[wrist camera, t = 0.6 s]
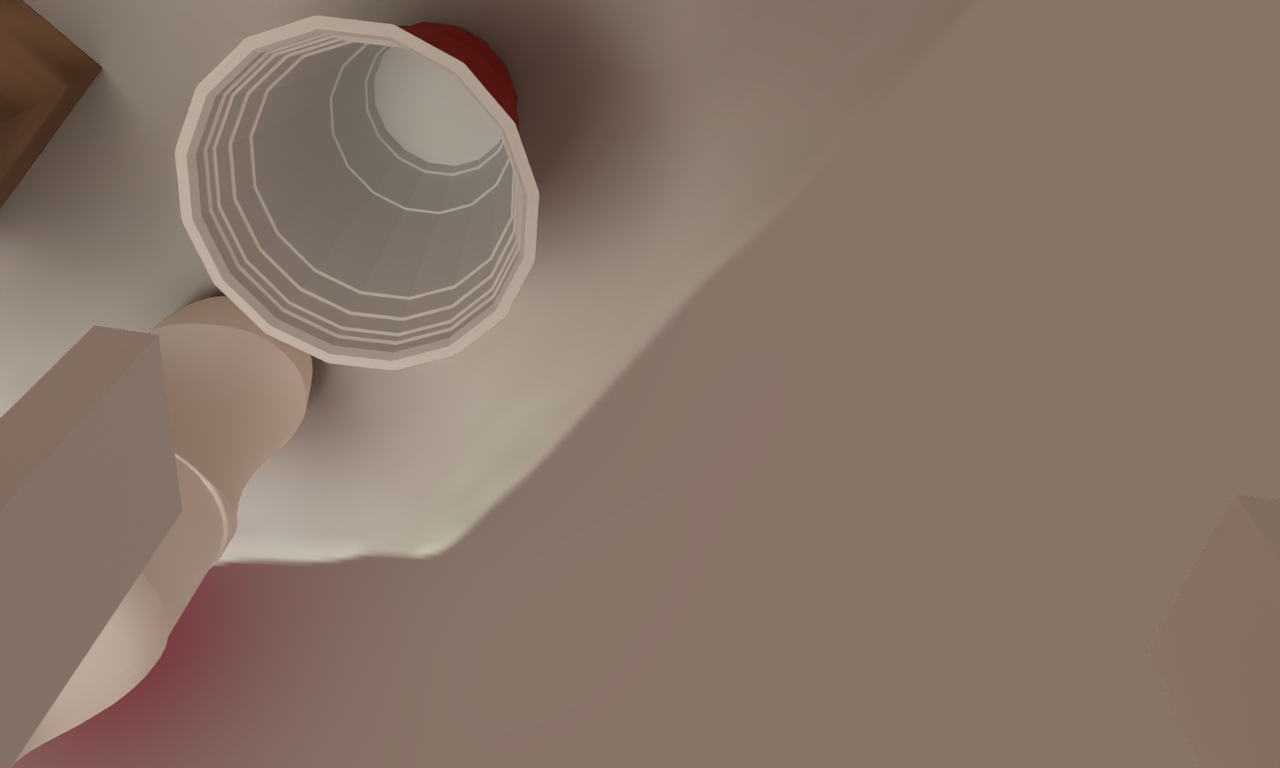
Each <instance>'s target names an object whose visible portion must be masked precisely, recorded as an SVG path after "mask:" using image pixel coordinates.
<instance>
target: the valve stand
mask: <svg viewBox="0 0 1280 768" xmlns="http://www.w3.org/2000/svg"><path fill="white" fill-rule="evenodd" d="M101 69H102V68H101V67H100V66H99V65H98V64H97V63H95V62H94V61H93V60H92V59H91V58H89V57H88V56H87V55H86V54H85V53H84V52H82V51H81V50H80V49H79V48H78V47H76V46H75V45H74V44H73V43H72V42H70V41H69V40H68V39H67V38H66V37H64V36H63V35H62V34H61V33H60V32H58V31H57V30H56V29H55V28H54V27H52V26H51V25H50V24H49V23H48V22H47V21H45V20H44V19H43V18H42V17H41V16H39V15H38V14H37V13H36V12H35V11H33V10H32V9H31V8H30V7H29V6H27V5H26V4H25V3H24V2H23V1H21V0H0V208H1V206H2V205H3V204H4V202H5V201H6V200H7V198H8V197H9V195H10V194H11V193H12V191H13V190H14V189H15V187H16V186H17V184H18V183H19V182H20V180H21V179H22V178H23V176H24V175H25V173H26V172H27V171H28V169H29V168H30V166H31V165H32V164H33V162H34V161H35V160H36V158H37V157H38V155H39V154H40V153H41V151H42V150H43V149H44V147H45V146H46V144H47V143H48V142H49V140H50V139H51V138H52V136H53V135H54V133H55V132H56V131H57V129H58V128H59V127H60V125H61V124H62V122H63V121H64V120H65V118H66V117H67V116H68V114H69V113H70V111H71V110H72V109H73V107H74V106H75V104H76V103H77V102H78V100H79V99H80V98H81V96H82V95H83V93H84V92H85V91H86V89H87V88H88V87H89V85H90V84H91V82H92V81H93V80H94V78H95V77H96V76H97V74H98V73H99V71H100V70H101Z"/></svg>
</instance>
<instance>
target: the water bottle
mask: <svg viewBox="0 0 1280 768" xmlns="http://www.w3.org/2000/svg"><path fill="white" fill-rule="evenodd" d="M149 334H155V335H158V336H159V344H160V351H161V358H162V366H163V373H164V380H165V388H166V395H167V402H168V410H169V417H170V424H171V432H172V439H173V446H174V454H175V461H176V468H177V476H178V483H179V490H180V498H181V505H182V512H181V514H180V515H179V517H178V518H177V520H176V521H175V523H174V524H173V526H172V527H171V529H170V530H169V532H168V533H167V535H166V536H165V538H164V539H163V541H162V542H161V544H160V545H159V547H158V548H157V550H156V551H155V553H154V554H153V556H152V557H151V559H150V560H149V562H148V563H147V565H146V566H145V568H144V569H143V571H142V572H141V574H140V575H139V577H138V578H137V580H136V581H135V583H134V584H133V586H132V587H131V589H130V590H129V592H128V593H127V595H126V596H125V598H124V599H123V601H122V602H121V604H120V605H119V607H118V608H117V610H116V611H115V613H114V614H113V616H112V617H111V619H110V620H109V622H108V623H107V625H106V626H105V628H104V629H103V631H102V632H101V634H100V635H99V637H98V638H97V639H96V641H95V642H94V644H93V645H92V647H91V648H90V650H89V651H88V653H87V654H86V656H85V657H84V659H83V660H82V662H81V663H80V665H79V666H78V668H77V669H76V671H75V672H74V674H73V675H72V677H71V678H70V680H69V681H68V683H67V684H66V686H65V687H64V689H63V690H62V692H61V693H60V695H59V696H58V698H57V699H56V701H55V702H54V704H53V705H52V707H51V708H50V710H49V711H48V713H47V714H46V716H45V717H44V719H43V720H42V722H41V723H40V725H39V726H38V728H37V729H36V731H35V732H34V734H33V735H32V737H31V738H30V740H29V741H28V743H27V744H26V746H25V747H24V749H23V750H22V752H21V753H20V755H19V756H18V758H17V759H16V761H17V760H19V759H20V758H21V757H23V756H24V755H25V754H27V753H28V752H29V751H31V750H33V749H35V748H36V747H38V746H40V745H42V744H43V743H45V742H47V741H49V740H51V739H53V738H55V737H57V736H58V735H60V734H62V733H64V732H66V731H68V730H70V729H72V728H73V727H76V726H78V725H79V724H81V723H83V722H84V721H86V720H88V719H89V718H91V717H93V716H94V715H96V714H97V713H99V712H101V711H103V710H104V709H106V708H108V707H109V706H111V705H112V704H114V703H115V702H116V701H117V700H119V699H120V698H122V697H123V696H124V695H126V694H127V693H128V692H129V691H130V690H132V689H133V688H134V687H135V686H136V685H137V684H138V683H139V682H140V681H141V680H142V679H143V678H144V677H145V676H146V675H147V674H148V672H149V671H150V670H151V669H152V667H153V666H154V665H155V663H156V662H157V661H158V660H159V658H160V657H161V655H162V652H163V651H164V649H165V647H166V644H167V639H168V636H169V634H170V632H171V631H172V629H173V627H174V626H175V624H176V622H177V621H178V619H179V618H180V616H181V614H182V612H183V611H184V609H185V608H186V606H187V604H188V603H189V601H190V599H191V598H192V596H193V594H194V593H195V591H196V590H197V588H198V586H199V584H200V583H201V581H202V580H203V578H204V576H205V574H206V573H207V571H208V570H209V569H210V568H211V567H212V566H213V565H214V564H215V563H216V562H217V561H218V560H219V558H220V557H221V555H222V554H223V552H224V551H225V549H226V547H227V546H228V544H229V542H230V541H231V539H232V537H233V536H234V533H235V531H236V528H237V509H238V502H239V499H240V496H241V494H242V491H243V489H244V487H245V485H246V484H247V482H248V481H249V479H250V478H251V477H252V475H253V474H254V472H255V471H256V470H257V469H258V468H259V467H260V466H261V465H262V464H263V463H264V462H265V461H266V460H267V459H268V458H270V457H271V456H272V455H273V454H275V453H276V452H277V451H278V450H280V449H281V448H282V447H283V446H284V445H285V444H286V443H287V442H288V441H289V440H290V439H291V438H292V436H293V435H294V434H295V432H296V431H297V429H298V427H299V426H300V424H301V422H302V420H303V418H304V417H305V415H306V410H307V404H308V399H309V394H310V388H311V382H312V374H313V369H312V359H311V355H310V354H308V353H306V352H304V351H301V350H299V349H297V348H295V347H293V346H291V345H289V344H287V343H285V342H283V341H280V340H278V339H276V338H274V337H272V336H270V335H268V334H266V333H264V332H263V331H262V330H261V329H260V328H259V327H258V326H257V325H256V324H255V323H254V322H253V321H252V320H251V319H250V318H249V317H248V316H247V315H246V314H245V313H244V312H243V311H242V310H240V309H239V308H238V307H237V306H236V305H235V304H234V303H233V302H232V301H231V300H230V299H229V298H228V297H227V296H219V297H210V298H206V299H202V300H199V301H196V302H194V303H191V304H189V305H187V306H185V307H183V308H182V309H180V310H178V311H177V312H175V313H173V314H172V315H170V316H169V317H168V318H166V319H165V320H163V321H162V322H161V323H159V324H158V325H157V326H156V327H155V328H154V329H153V330H152V331H151V332H150V333H149ZM16 761H15V762H16ZM15 762H14V763H15Z"/></svg>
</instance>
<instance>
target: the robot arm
mask: <svg viewBox="0 0 1280 768" xmlns="http://www.w3.org/2000/svg"><path fill="white" fill-rule="evenodd" d="M181 512H182V505H181V498H180V490H179V483H178V476H177V468H176V461H175V454H174V446H173V439H172V432H171V424H170V417H169V410H168V402H167V395H166V388H165V380H164V373H163V366H162V358H161V351H160V344H159V336H158V335H155V334H148V333H141V332H134V331H128V330H121V329H114V328H107V327H100V326H93V327H92V328H91V329H90V330H89V331H88V332H87V333H86V334H85V335H84V336H83V337H82V338H81V339H80V340H79V341H78V342H77V343H76V344H75V345H74V346H73V347H72V348H71V349H70V350H69V351H68V352H67V353H66V354H65V355H64V356H63V357H62V358H61V359H60V360H59V361H58V362H57V363H56V364H55V365H54V366H53V367H52V368H51V369H50V370H49V371H48V372H47V373H46V374H45V375H44V376H43V377H42V378H41V379H40V380H39V381H38V382H37V383H36V384H35V385H34V386H33V387H32V388H31V389H30V390H29V391H28V392H27V393H26V394H25V395H24V396H23V397H22V398H21V399H20V400H19V401H18V402H17V403H16V404H15V405H14V406H13V407H12V408H10V409H9V410H8V411H7V412H6V413H5V414H4V415H3V416H2V417H1V418H0V768H11V767H12V765H13V764H14V762H15V761H16V759H17V758H18V756H19V755H20V753H21V752H22V750H23V749H24V747H25V746H26V744H27V743H28V741H29V740H30V738H31V737H32V735H33V734H34V732H35V731H36V729H37V728H38V726H39V725H40V723H41V722H42V720H43V719H44V717H45V716H46V714H47V713H48V711H49V710H50V708H51V707H52V705H53V704H54V702H55V701H56V699H57V698H58V696H59V695H60V693H61V692H62V690H63V689H64V687H65V686H66V684H67V683H68V681H69V680H70V678H71V677H72V675H73V674H74V672H75V671H76V669H77V668H78V666H79V665H80V663H81V662H82V660H83V659H84V657H85V656H86V654H87V653H88V651H89V650H90V648H91V647H92V645H93V644H94V642H95V641H96V639H97V638H98V637H99V635H100V634H101V632H102V631H103V629H104V628H105V626H106V625H107V623H108V622H109V620H110V619H111V617H112V616H113V614H114V613H115V611H116V610H117V608H118V607H119V605H120V604H121V602H122V601H123V599H124V598H125V596H126V595H127V593H128V592H129V590H130V589H131V587H132V586H133V584H134V583H135V581H136V580H137V578H138V577H139V575H140V574H141V572H142V571H143V569H144V568H145V566H146V565H147V563H148V562H149V560H150V559H151V557H152V556H153V554H154V553H155V551H156V550H157V548H158V547H159V545H160V544H161V542H162V541H163V539H164V538H165V536H166V535H167V533H168V532H169V530H170V529H171V527H172V526H173V524H174V523H175V521H176V520H177V518H178V517H179V515H180V514H181ZM1146 652H1147V654H1148V656H1149V659H1150V661H1151V663H1152V665H1153V668H1154V670H1155V672H1156V674H1157V677H1158V679H1159V681H1160V683H1161V685H1162V688H1163V690H1164V692H1165V694H1166V696H1167V699H1168V701H1169V703H1170V705H1171V708H1172V710H1173V712H1174V714H1175V717H1176V719H1177V721H1178V723H1179V725H1180V728H1181V730H1182V732H1183V735H1184V737H1185V739H1186V741H1187V743H1188V746H1189V748H1190V750H1191V752H1192V755H1193V757H1194V759H1195V761H1196V764H1197V766H1198V768H1280V500H1275V499H1268V498H1261V497H1255V496H1248V495H1241V494H1234V496H1233V498H1232V500H1231V501H1230V503H1229V505H1228V506H1227V508H1226V510H1225V512H1224V514H1223V515H1222V517H1221V519H1220V521H1219V522H1218V524H1217V526H1216V528H1215V529H1214V532H1213V533H1212V535H1211V536H1210V538H1209V540H1208V542H1207V544H1206V545H1205V547H1204V549H1203V551H1202V552H1201V554H1200V556H1199V558H1198V559H1197V561H1196V563H1195V565H1194V567H1193V568H1192V570H1191V572H1190V574H1189V575H1188V577H1187V579H1186V581H1185V582H1184V584H1183V586H1182V588H1181V590H1180V591H1179V593H1178V595H1177V596H1176V598H1175V600H1174V602H1173V603H1172V605H1171V607H1170V609H1169V610H1168V613H1167V614H1166V616H1165V618H1164V619H1163V621H1162V623H1161V625H1160V626H1159V628H1158V630H1157V632H1156V633H1155V635H1154V637H1153V639H1152V640H1151V642H1150V644H1149V646H1148V647H1147V649H1146Z"/></svg>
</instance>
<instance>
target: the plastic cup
mask: <svg viewBox="0 0 1280 768" xmlns="http://www.w3.org/2000/svg"><path fill="white" fill-rule="evenodd" d="M516 110H517V96H516V93H515V91H514V88H513V85H512V82H511V79H510V77H509V74H508V71H507V68H506V67H505V65H504V64H503V63H502V61H501V60H500V59H499V58H498V57H497V56H496V54H495V53H494V52H493V51H492V50H491V49H490V47H489V46H488V45H487V44H486V43H485V42H484V41H482V40H480V39H479V38H477V37H475V36H473V35H471V34H470V33H468V32H466V31H464V30H462V29H460V28H459V27H456V26H451V25H443V24H435V23H427V22H422V23H419V24H416V25H412V26H395V25H394V24H386V23H377V22H369V21H360V20H352V19H343V18H335V17H326V16H318V15H315V16H312V17H309V18H305V19H302V20H299V21H296V22H293V23H290V24H287V25H284V26H280V27H277V28H274V29H271V30H268V31H265V32H262V33H259V34H255V35H252V36H249V37H246V38H245V39H244V40H243V41H242V42H241V43H240V44H239V45H238V46H237V47H236V48H235V49H234V50H233V51H232V52H231V53H230V54H229V55H228V56H227V57H226V58H225V59H224V60H223V61H222V62H221V63H220V64H218V65H217V66H216V67H215V68H214V69H213V70H212V71H211V72H210V73H209V74H208V75H207V76H206V77H205V78H204V79H203V80H202V81H201V82H200V83H199V84H198V85H197V86H196V89H195V92H194V95H193V98H192V101H191V104H190V107H189V110H188V113H187V116H186V119H185V121H184V124H183V127H182V130H181V133H180V136H179V139H178V142H177V145H176V148H175V161H176V171H177V181H178V191H179V201H180V211H181V220H182V222H183V224H184V226H185V228H186V230H187V232H188V234H189V236H190V238H191V240H192V242H193V244H194V246H195V248H196V250H197V252H198V254H199V256H200V258H201V260H202V262H203V264H204V266H205V268H206V270H207V271H208V273H209V275H210V277H211V279H212V281H213V283H214V285H216V286H217V287H218V288H219V289H220V290H221V291H222V292H223V293H224V294H225V295H226V296H227V297H228V298H229V299H230V300H231V301H232V302H233V303H234V304H235V305H236V306H237V307H238V308H239V309H240V310H242V311H243V312H244V313H245V314H246V315H247V316H248V317H249V318H250V319H251V320H252V321H253V322H254V323H255V324H256V325H257V326H258V327H259V328H260V329H261V330H262V331H263V332H264V333H266V334H268V335H270V336H272V337H274V338H276V339H278V340H280V341H283V342H285V343H287V344H289V345H291V346H293V347H295V348H297V349H299V350H301V351H304V352H306V353H308V354H310V355H312V356H314V357H316V358H318V359H320V360H322V361H325V362H327V363H332V364H340V365H349V366H358V367H367V368H376V369H385V370H393V371H394V370H398V369H402V368H406V367H410V366H414V365H418V364H422V363H426V362H430V361H434V360H438V359H441V358H445V357H449V356H453V355H456V354H458V353H459V352H460V351H462V350H463V349H464V348H465V347H467V346H468V345H469V344H471V343H472V342H473V341H475V340H476V339H477V338H479V337H480V336H481V335H482V334H484V333H485V332H486V331H488V330H489V329H490V328H492V327H493V326H494V325H496V324H497V323H498V322H499V321H501V320H502V319H503V318H505V317H506V315H507V313H508V311H509V309H510V307H511V305H512V303H513V302H514V300H515V298H516V296H517V294H518V292H519V290H520V288H521V287H522V285H523V283H524V281H525V279H526V277H527V275H528V273H529V272H530V270H531V268H532V266H533V264H534V262H535V254H536V239H537V223H538V207H539V191H538V188H537V185H536V182H535V179H534V176H533V173H532V170H531V168H530V165H529V162H528V159H527V156H526V153H525V150H524V147H523V144H522V142H521V139H520V136H519V118H518V116H517V113H516Z"/></svg>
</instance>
